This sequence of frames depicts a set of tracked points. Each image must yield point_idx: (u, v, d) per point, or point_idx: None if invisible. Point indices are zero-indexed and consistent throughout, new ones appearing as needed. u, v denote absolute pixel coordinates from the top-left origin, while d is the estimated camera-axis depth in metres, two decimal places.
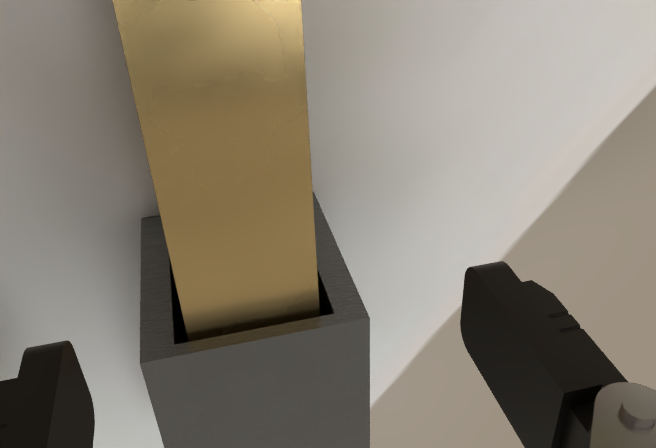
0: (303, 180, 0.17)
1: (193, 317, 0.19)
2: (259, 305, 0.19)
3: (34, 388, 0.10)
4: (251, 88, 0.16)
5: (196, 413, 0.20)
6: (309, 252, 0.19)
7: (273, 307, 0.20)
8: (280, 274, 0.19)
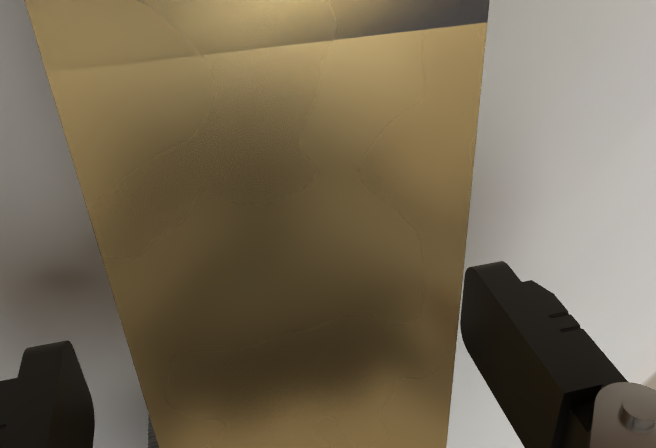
0: None
1: None
2: None
3: (34, 388, 0.10)
4: (360, 337, 0.08)
5: None
6: None
7: None
8: None
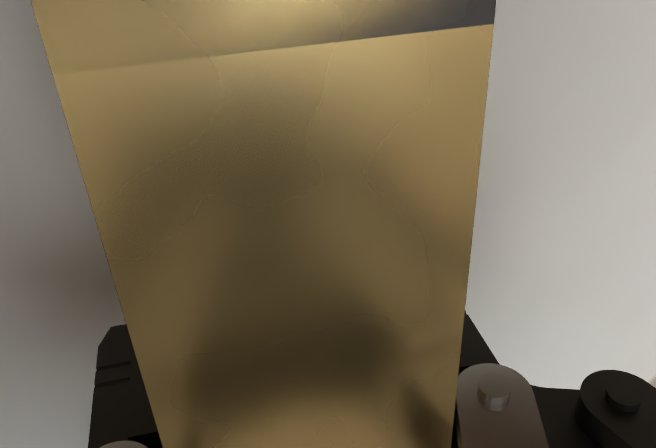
0: None
1: None
2: None
3: None
4: (365, 338, 0.08)
5: None
6: None
7: None
8: None
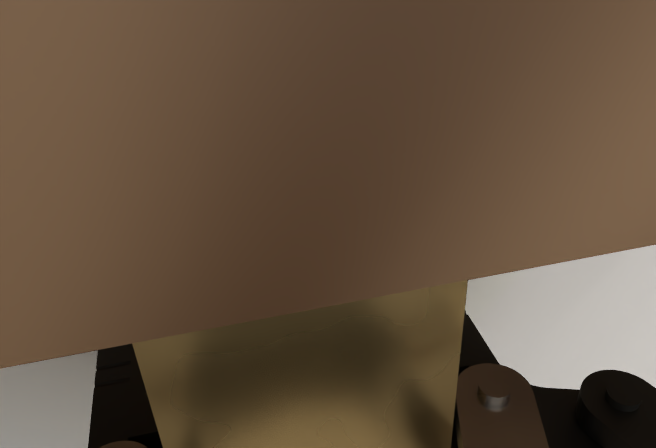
0: None
1: None
2: None
3: None
4: (364, 338, 0.08)
5: None
6: None
7: None
8: None
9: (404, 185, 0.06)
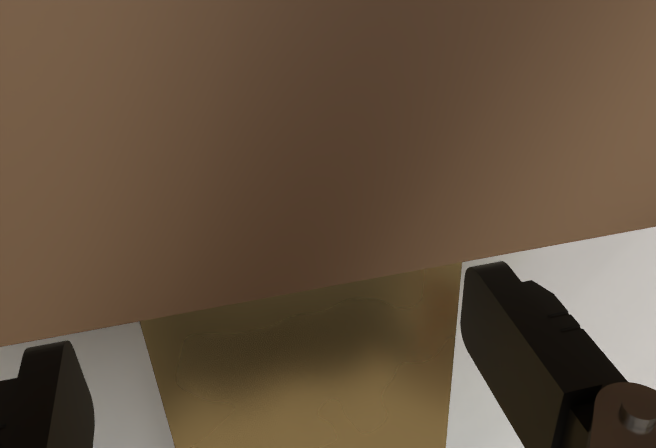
0: (431, 438, 0.10)
1: None
2: None
3: (34, 388, 0.10)
4: (363, 322, 0.09)
5: None
6: None
7: None
8: None
9: (398, 170, 0.06)
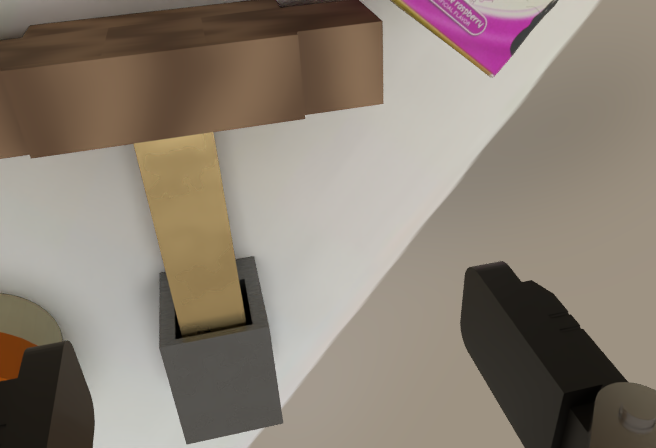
0: (219, 195, 0.36)
1: (169, 264, 0.37)
2: (203, 258, 0.38)
3: (34, 388, 0.10)
4: (190, 153, 0.34)
5: (186, 373, 0.41)
6: (226, 231, 0.37)
7: (210, 260, 0.38)
8: (212, 242, 0.37)
9: (185, 111, 0.32)
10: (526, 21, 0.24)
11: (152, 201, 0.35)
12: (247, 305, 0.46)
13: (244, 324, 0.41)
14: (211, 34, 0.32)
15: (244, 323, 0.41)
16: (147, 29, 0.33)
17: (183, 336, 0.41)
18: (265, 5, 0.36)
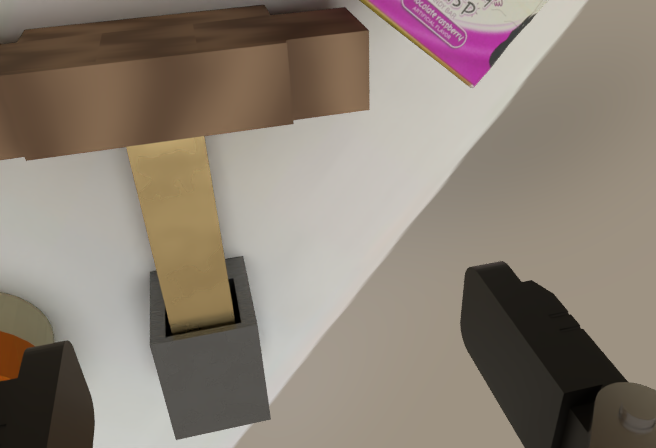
0: (209, 196, 0.37)
1: (160, 264, 0.38)
2: (193, 258, 0.39)
3: (34, 388, 0.10)
4: (182, 156, 0.35)
5: (176, 370, 0.42)
6: (216, 231, 0.38)
7: (200, 260, 0.39)
8: (202, 242, 0.38)
9: (176, 116, 0.33)
10: (504, 35, 0.26)
11: (144, 202, 0.36)
12: (236, 303, 0.47)
13: (233, 322, 0.42)
14: (202, 41, 0.33)
15: (233, 321, 0.42)
16: (140, 35, 0.34)
17: (173, 334, 0.42)
18: (255, 12, 0.37)
